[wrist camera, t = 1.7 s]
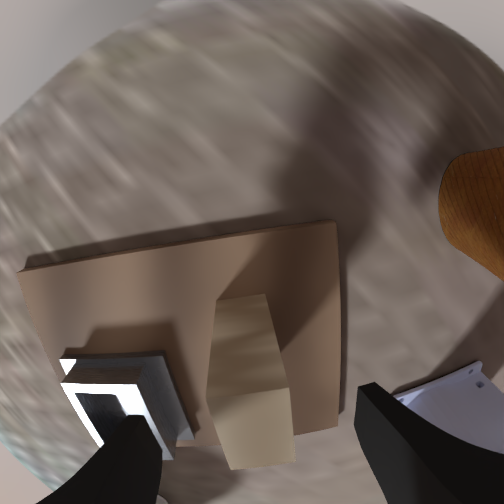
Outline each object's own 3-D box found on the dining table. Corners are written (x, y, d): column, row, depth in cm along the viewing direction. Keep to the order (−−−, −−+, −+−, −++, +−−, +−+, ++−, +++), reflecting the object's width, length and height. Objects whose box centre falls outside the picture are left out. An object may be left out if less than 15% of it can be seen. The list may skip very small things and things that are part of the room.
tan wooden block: (265, 293, 15) (288, 387, 8) (273, 359, 16) (295, 461, 9) (216, 300, 15) (205, 398, 8) (229, 366, 16) (230, 469, 9)
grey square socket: (164, 349, 15) (154, 379, 13) (195, 433, 17) (192, 462, 14) (63, 354, 15) (44, 377, 12) (104, 431, 17) (94, 456, 14)
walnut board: (331, 219, 15) (336, 222, 14) (334, 418, 18) (337, 426, 18) (23, 268, 14) (16, 273, 14) (99, 435, 18) (96, 442, 17)
